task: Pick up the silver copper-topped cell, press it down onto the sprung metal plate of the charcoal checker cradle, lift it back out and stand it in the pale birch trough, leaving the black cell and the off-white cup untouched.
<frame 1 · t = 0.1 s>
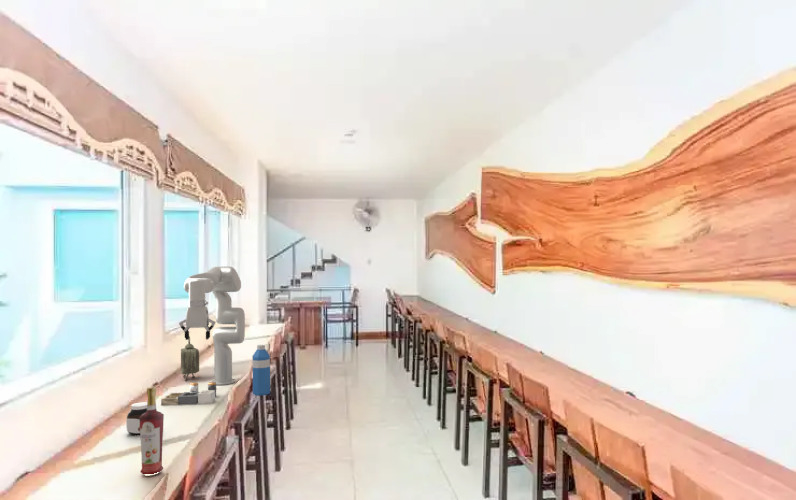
hand: (197, 339, 276), 31 cm above the table, tool pointing down, fingers open, 9 cm apart
liquor: (152, 474, 185), on the table
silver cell: (194, 397, 289), on the table
black cell: (212, 396, 289), on the table
spread jar: (143, 432, 232), on the table
water bottle: (261, 393, 295), on the table
trough: (174, 401, 279), on the table
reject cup: (206, 402, 278), on the table
checker cradle: (190, 401, 279), on the table
olive tall ribbed piece: (190, 379, 333), on the table
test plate: (190, 397, 279), point 2 cm above the table, slide at -0.2 cm
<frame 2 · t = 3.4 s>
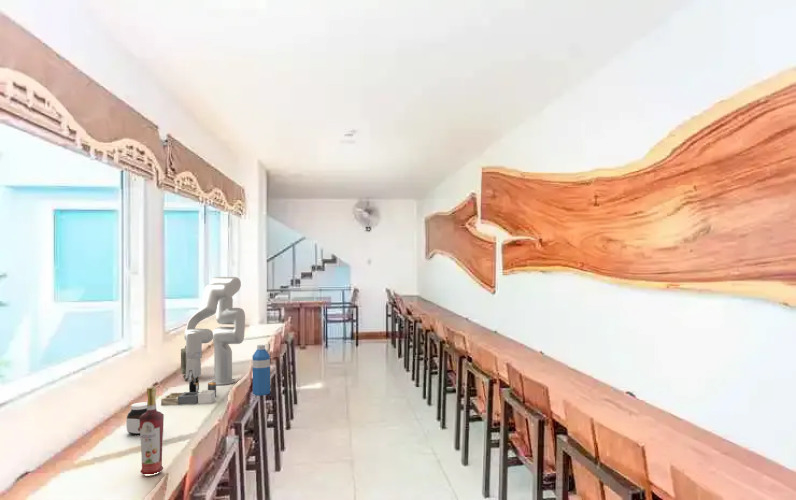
hand: (194, 390, 289), 3 cm above the table, tool pointing down, fingers closed on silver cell, 4 cm apart
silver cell: (194, 397, 289), on the table, touching gripper
everything else where it was.
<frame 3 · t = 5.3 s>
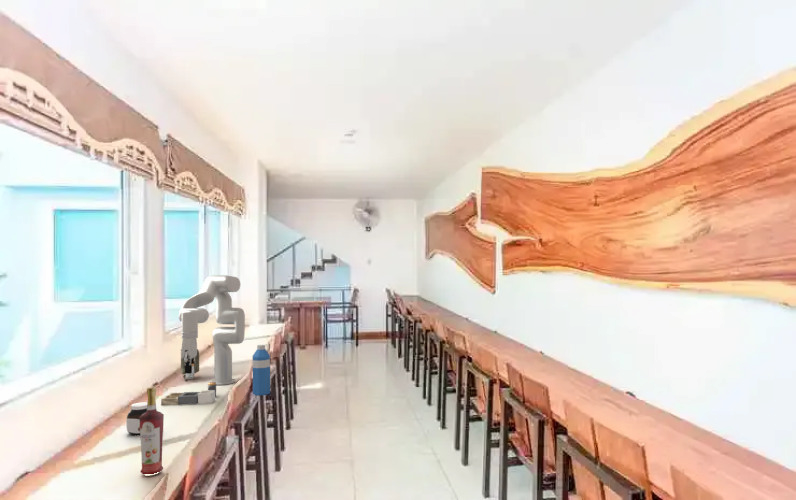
hand: (190, 371, 279), 15 cm above the table, tool pointing down, fingers closed on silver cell, 4 cm apart
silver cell: (190, 378, 279), point 12 cm above the table, touching gripper
everything else where it was.
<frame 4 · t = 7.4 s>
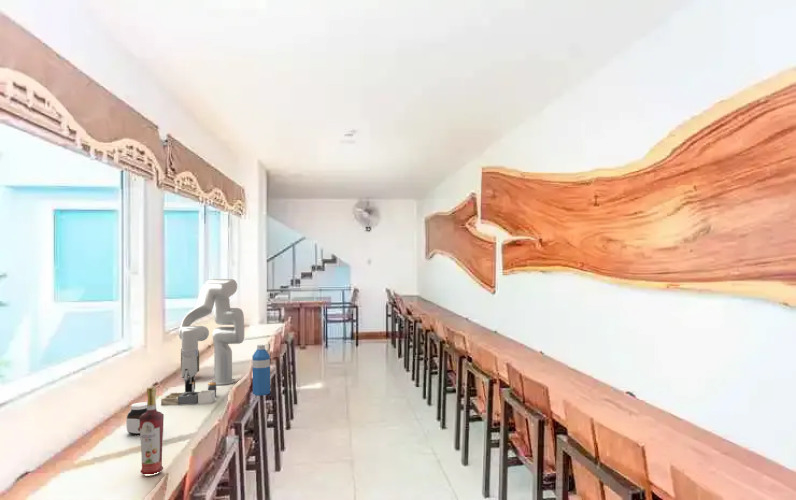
hand: (190, 390, 279), 6 cm above the table, tool pointing down, fingers closed on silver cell, 4 cm apart
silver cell: (190, 396, 279), point 3 cm above the table, touching gripper, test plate
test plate: (190, 397, 279), point 2 cm above the table, slide at -0.4 cm, touching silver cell
everything else where it was.
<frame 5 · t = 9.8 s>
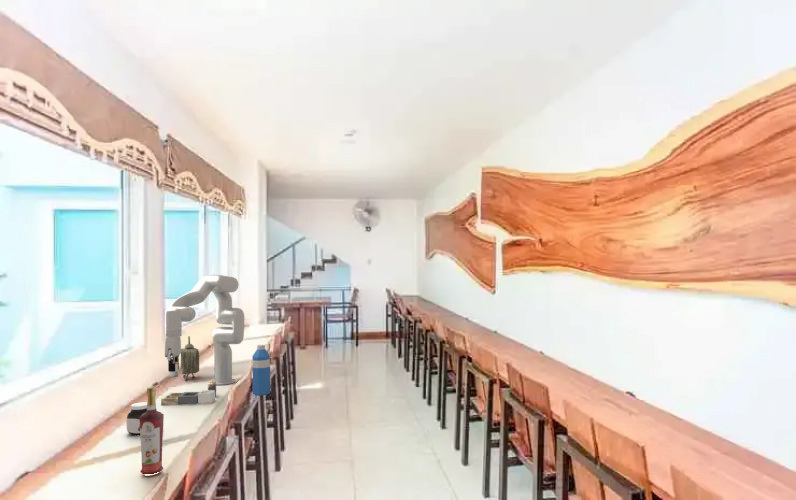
hand: (173, 370, 280), 16 cm above the table, tool pointing down, fingers closed on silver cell, 4 cm apart
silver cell: (173, 376, 280), point 12 cm above the table, touching gripper
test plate: (190, 397, 279), point 2 cm above the table, slide at -0.5 cm
everything else where it was.
when the fingers open (5 cm above the table, at t = 12.0 s): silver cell stays where it is, resting on trough.
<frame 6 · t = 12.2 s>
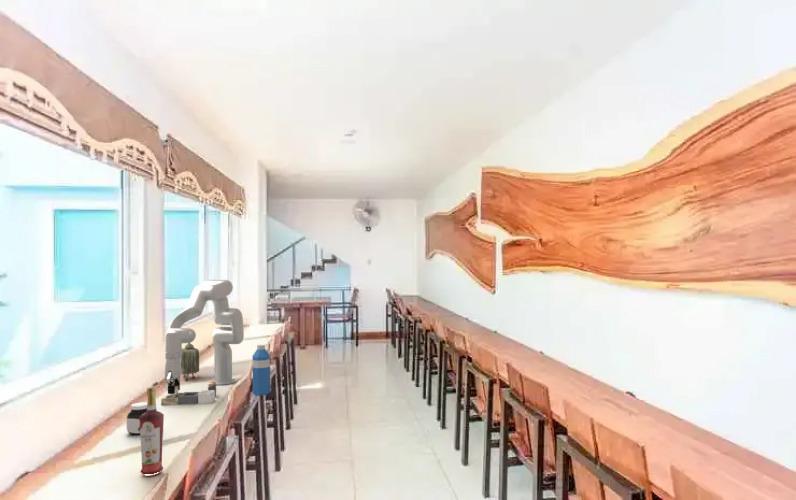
hand: (173, 391, 280), 5 cm above the table, tool pointing down, fingers open, 6 cm apart
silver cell: (174, 400, 280), point 1 cm above the table, touching trough
everything else where it was.
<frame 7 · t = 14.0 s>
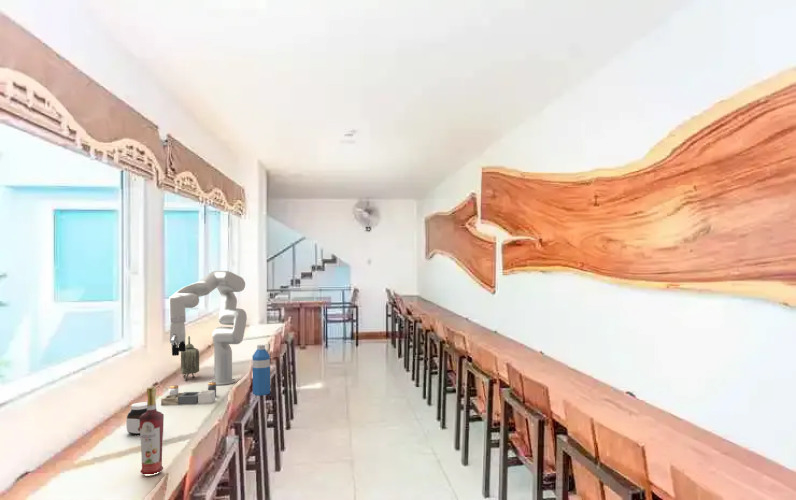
hand: (179, 353, 286), 23 cm above the table, tool pointing down, fingers open, 9 cm apart
nothing on the table moved.
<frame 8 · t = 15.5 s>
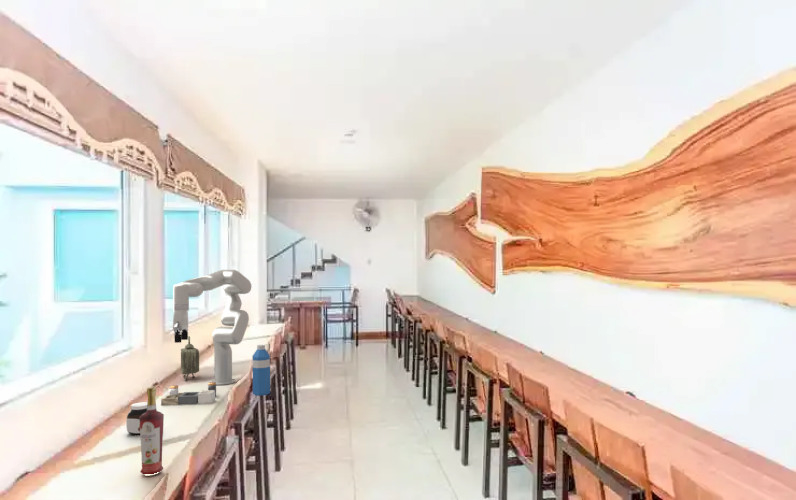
hand: (181, 341, 291), 28 cm above the table, tool pointing down, fingers open, 9 cm apart
nothing on the table moved.
at the end: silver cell inside the target area on the trough (0.1 cm from its centre), point 0.6 cm above the trough's base; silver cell tilted 0°; the gripper is holding nothing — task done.
